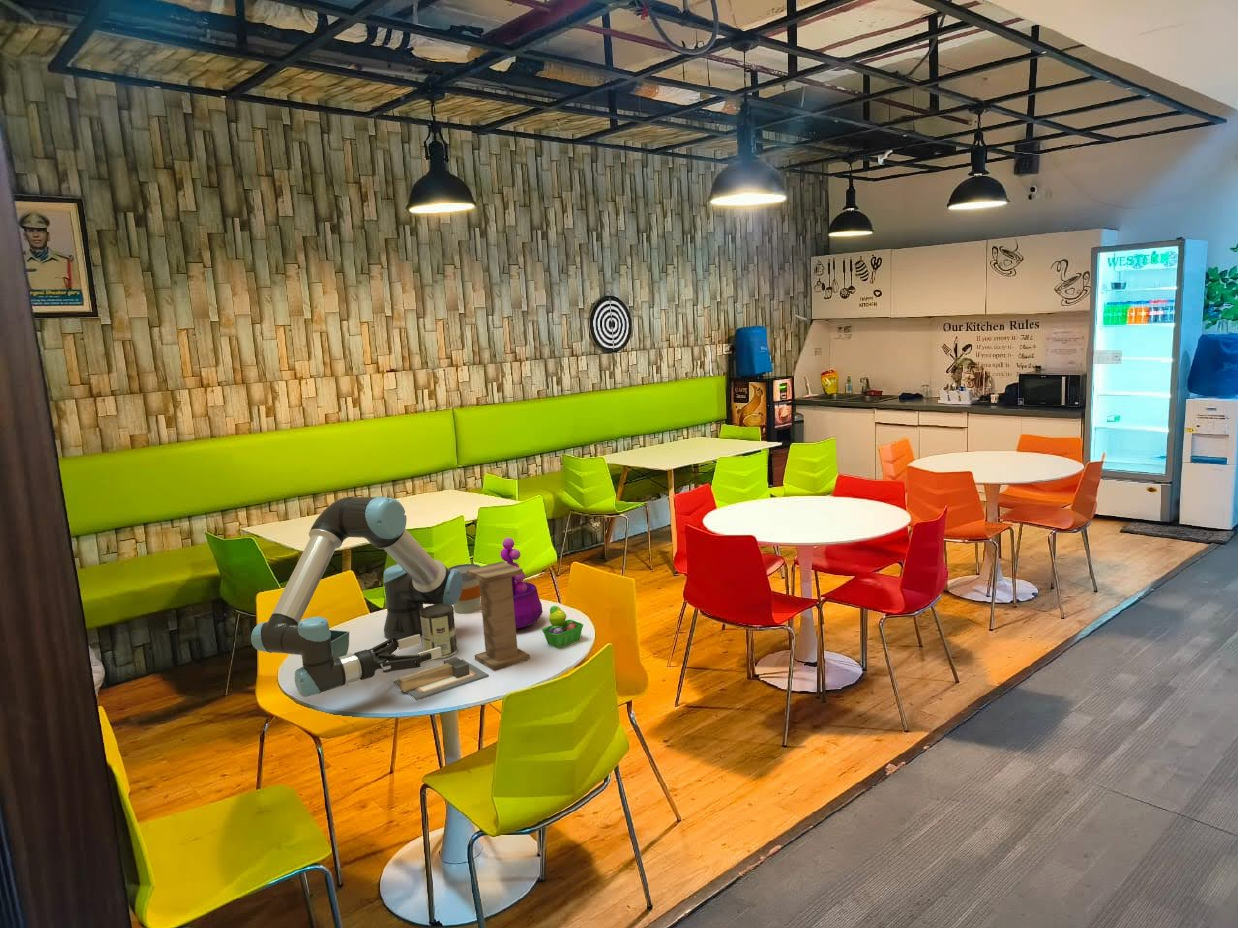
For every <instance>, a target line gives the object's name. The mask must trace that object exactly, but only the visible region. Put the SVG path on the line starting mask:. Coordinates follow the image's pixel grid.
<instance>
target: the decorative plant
mask: <svg viewBox="0 0 1238 928" xmlns="http://www.w3.org/2000/svg"><path fill="white" fill-rule="evenodd" d="M514 546H515V541H514V539H513V538H511V537H506V538H504V539H503V541H502V547H503V548H502V549H501V551H500V553H499V554H500V558H501V559H502V560H503V562H505V563H508V564H511V565H513V566H516V567H519V568H520V565H519V563H518V562H515V561H517V560H518V559H520V557H521V552H520V550H518V549H516V548H514ZM511 578H512V590H513V601H514V613H515V625H516V629H521V628H524V627H527V626H531V625H532V624H535V623H536V622H537V621H539V619H540V618H541V616H542V614H543V606H542V605H543V604H542V602H541V600H540V596H539V593H538V589H537V586H536V585H535V584H534V583H530V582H525V581H524V580H525V579H526V574H525V572H524V571H523V574H521V575H517V576H513V577H511Z"/></svg>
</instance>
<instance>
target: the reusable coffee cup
mask: <svg viewBox="0 0 1238 928" xmlns="http://www.w3.org/2000/svg"><path fill="white" fill-rule="evenodd" d="M481 566H482V565H479V564H475V563H463V564H457V565H454V566H453V565H452V566H450V567H448V569H456V570H459V571H460V572H461V574H462V579H463V587H462V592H461V595H460V598H459V600H458V601H457V602H456V603H455V604H454V605H452V606H453V607H454V610H453V611H454V613H456V614H460V615H461V614H464V615H465V614H472V613H475V612H478V611H479V610H480V609H481V595H480V584H479V580H478V579H475V578H473V577H471V576H468V575H467V570H469V569H473V568H477V567H481Z"/></svg>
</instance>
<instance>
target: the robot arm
mask: <svg viewBox="0 0 1238 928" xmlns="http://www.w3.org/2000/svg"><path fill="white" fill-rule="evenodd" d="M405 513H406V510H405V508H404V506H403V505H402V503H401V502H400V501H399V500H397V499H395V498H393V497H386V496H377V497H376V496H369V497H367V496H355V497H354V496H344V497H342V498H341V497H340V498H339V499H336V500H335V501H333V502H332V503H331V504H329V505H328V506H327V507H326V508H325V509H324V510H323V511H322V512H321V513H320V515H318V517H317V518H316V519H315V521H314V522H313V524H312V526H311V528H310V529H309V532H308V536H309V539H308V542H307V544H306V545H305V548H304V550H303V551H302V553H301V555H300V558H299V560H298V561H297V564H296V565H295V568H294V570H293V571H292V573H291V575H290V577H289V578H288V581H287V583H286V585H285V587H284V589H283V591H282V593H281V595H280V597H279V599H278V601H277V603H276V605H275V607H274V609H273V611H272V613H271V615H270V617H269V619H268V620H267V621H264V622H260V623H258V624H257V625H256V626H255V627H254V628H253V630H252V631H251V636H250V640H251V642H250V643H251V644H252V647H253V648H254V649H255V650H257V651H259V652H265V653H270V654H272V653H275V654H286V655H287V654H288V655H299V656H301V661H302V662H301V663H302V667H300V668H297V669H296V670H295V671H294V683H295V687H296V690H297V692H298V694H299V695H300V696H301V697H304V698H305V697H310V696H315V695H320V694H321V693H324V692H328V691H330V690H333V689H337V688H339V687H343V686H346V687H349V686H350V685H351V684H353V683H356V682H359V681H364V680H367V679H369V678H373V677H374V676H375V674H376V671H377V670H382V673H383V674H386V673H390V672H394V671H396V672H397V671H403V670H411V669H418V668H421V667H422V663H426V662H429V661H432V660H437V659H436V658H439V657H442V654H441V647H437V648H433V649H430V650H427V651H424V650H423V651H421V652H417V654H409V655H408V654H407V655H406V654H405V655H404V654H403V655H395V652H396V651H397V650H405V649H407V648H411V647H414V646H417V645H421V644H422V641H421V637H423V636H422V627H421V618H420V613H419V611H420V610H421V609H422V608H424V605H436V604H449V605H452V606H453V605H454V604H455V603H456V602H457V601H458V600H459V598H460V595H461V592H462V587H463V579H462V574H461V572H460V571H459V570H456V569H448V568H449V567H448V568H447V566H446V565H445V564H444V563H443V562H442V561H441V560H438V559H433V558H432V557H431V555H430V554H429V553H428V552H427V551H426V550H425V549H424V548H423V547H422V546H421V544H420V543H419V542H418V541H417V540H416V538H414V536H413V535H412V534H411V533H410V532H409V531H408V530H407V529H406V527H407V521H408V520H407V519H408V518H407V515H405ZM348 538H362V539H364V540H365V539H366V540H367V541H368V542H369V543H370V544H371V546H372V547H374V548H376V549H379V550H384V551H385V552H386V553H387V554H388V555H389V556H390V557H391V559H393V560H394V561H395V562H396V564H394V565H391V566H389V567H387V568H386V569H385V570H384V571H383V587H384V592H385V593H384V594H385V595H384V596H385V602H386V611H387V613H386V617H385V622H384V626H383V635H384V637H385V638H386V640H384V641H383V642H381V643H379V644H378V645H375V646H373V647H372V648H369V649H364V650H359V651H356V652H354V653H347V655H345V656H341V657H338V658H335V659H333V653H332V644H331V632H330V630H331V629H330V626H329V620H328V619H327V618H325V617H322V616H314V617H312V616H311V617H306V618H304V619H303V616H304V614H305V612H306V610H307V608H308V606H309V604H310V602H311V600H312V599H313V596H314V594H315V592H316V589H317V587H318V586H319V584H320V581H321V579H322V577H323V575H324V573H325V572H326V570H327V567H328V566H329V564H330V561H331V558H332V557H333V554H335V550H336V549H340V548H341V547H342V545H343V542H344V541H346V539H348Z"/></svg>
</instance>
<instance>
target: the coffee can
mask: <svg viewBox="0 0 1238 928" xmlns="http://www.w3.org/2000/svg"><path fill="white" fill-rule="evenodd" d="M419 613H420V618H421V627H422V636H421V637H422V643H423V651H427V650H430V649H433V648H437V647H441V654H442V657H439V658H436V659H435V660H441V659H447V658H450V657H452V656H454V655H456V654H457V653H458V645H457V634H456V624H455V615H454V614H455V610H454V606H453V605H449V604H436V605H433V604H430V605H428V606H424V607H423V608H422V609H421V610H420V611H419Z"/></svg>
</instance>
